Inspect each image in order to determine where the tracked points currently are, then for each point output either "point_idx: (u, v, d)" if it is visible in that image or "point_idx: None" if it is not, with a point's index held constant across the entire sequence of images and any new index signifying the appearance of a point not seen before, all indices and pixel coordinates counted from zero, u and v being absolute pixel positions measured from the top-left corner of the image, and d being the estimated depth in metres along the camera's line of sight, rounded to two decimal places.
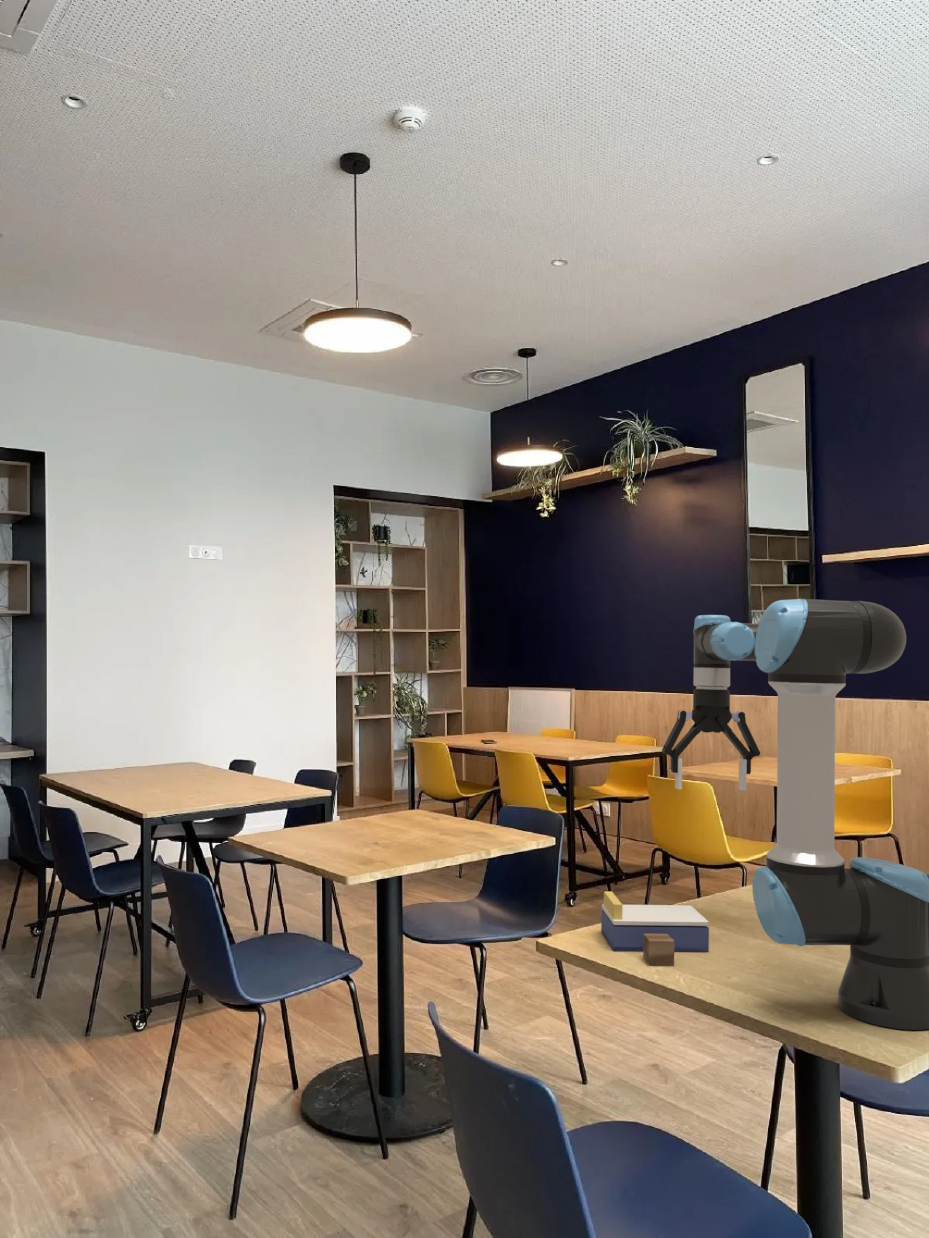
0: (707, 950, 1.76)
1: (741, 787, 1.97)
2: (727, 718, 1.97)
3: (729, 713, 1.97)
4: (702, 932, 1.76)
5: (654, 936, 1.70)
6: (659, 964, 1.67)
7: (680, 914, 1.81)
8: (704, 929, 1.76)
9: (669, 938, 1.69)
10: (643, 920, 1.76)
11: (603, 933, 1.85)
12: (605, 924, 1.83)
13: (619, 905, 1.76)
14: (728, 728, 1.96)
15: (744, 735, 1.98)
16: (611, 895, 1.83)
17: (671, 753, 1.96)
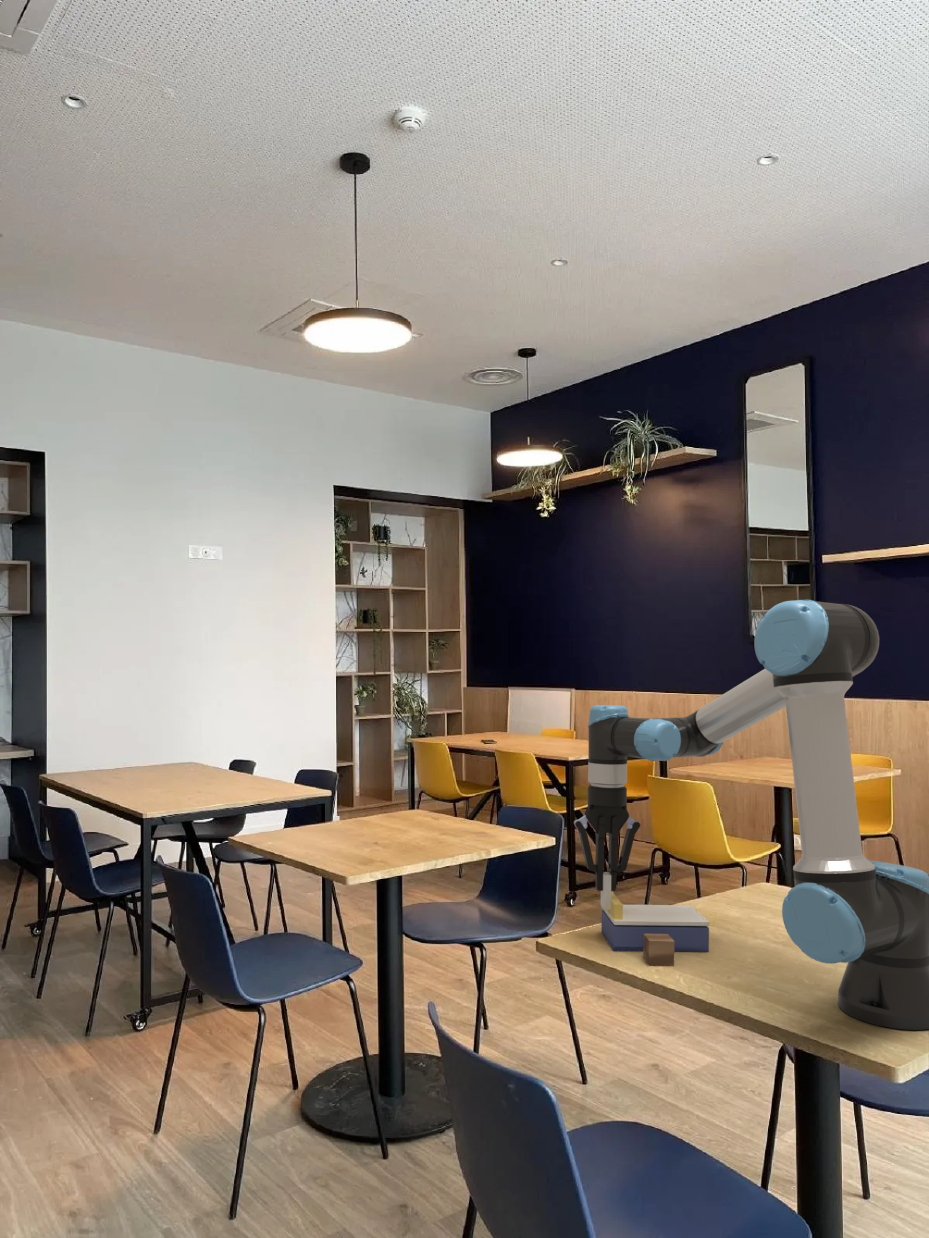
0: (707, 950, 1.76)
1: None
2: (622, 817, 1.81)
3: (627, 815, 1.81)
4: (702, 932, 1.76)
5: (654, 936, 1.70)
6: (659, 964, 1.67)
7: (680, 914, 1.81)
8: (704, 929, 1.76)
9: (669, 938, 1.69)
10: (643, 920, 1.76)
11: (603, 933, 1.85)
12: (605, 924, 1.83)
13: (619, 905, 1.76)
14: (616, 833, 1.80)
15: (624, 844, 1.81)
16: (611, 895, 1.83)
17: (596, 872, 1.80)
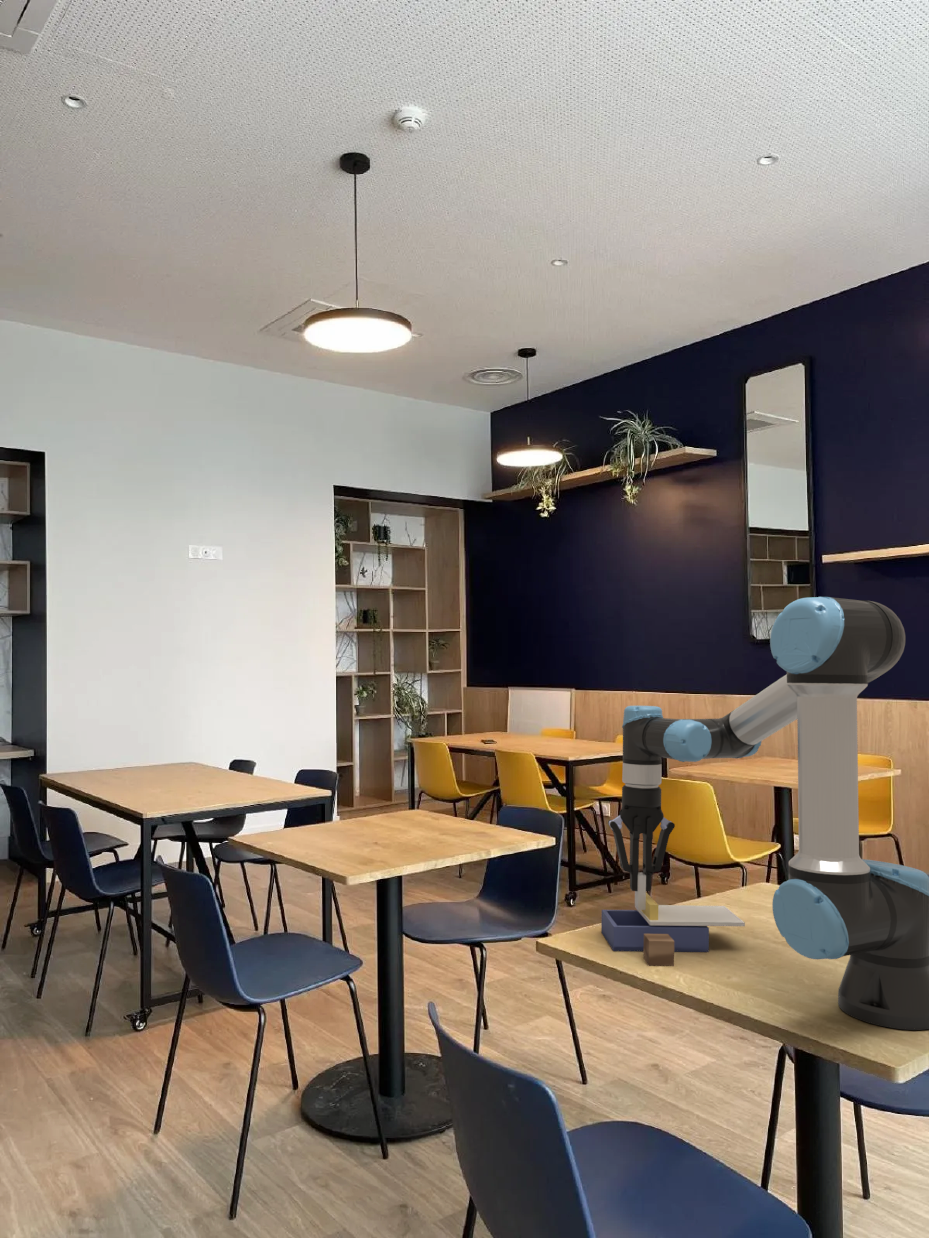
0: (707, 950, 1.76)
1: None
2: (656, 818, 1.81)
3: (662, 815, 1.81)
4: (702, 932, 1.76)
5: (654, 936, 1.70)
6: (659, 964, 1.67)
7: (715, 914, 1.81)
8: (704, 929, 1.76)
9: (669, 938, 1.69)
10: (679, 920, 1.76)
11: (603, 933, 1.85)
12: (605, 924, 1.83)
13: (655, 905, 1.77)
14: (650, 833, 1.80)
15: (659, 844, 1.82)
16: (646, 895, 1.83)
17: (630, 872, 1.81)
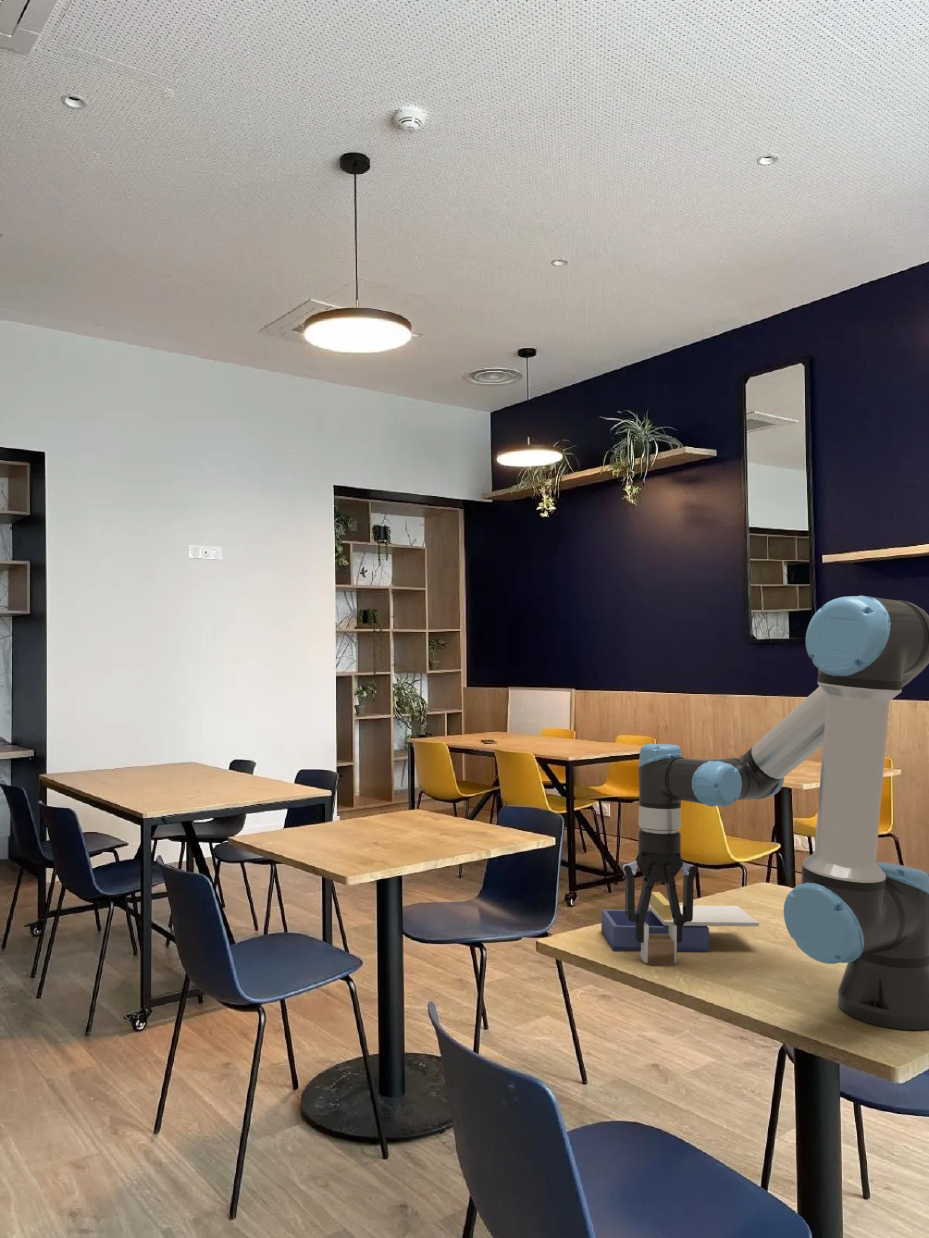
0: (707, 950, 1.76)
1: None
2: (676, 865, 1.69)
3: (681, 861, 1.69)
4: (702, 932, 1.76)
5: (654, 936, 1.70)
6: (659, 964, 1.67)
7: (729, 915, 1.81)
8: (704, 929, 1.76)
9: (669, 938, 1.69)
10: (693, 921, 1.76)
11: (603, 933, 1.85)
12: (605, 924, 1.83)
13: (669, 906, 1.77)
14: (672, 881, 1.68)
15: (685, 892, 1.70)
16: (659, 896, 1.83)
17: (636, 921, 1.68)
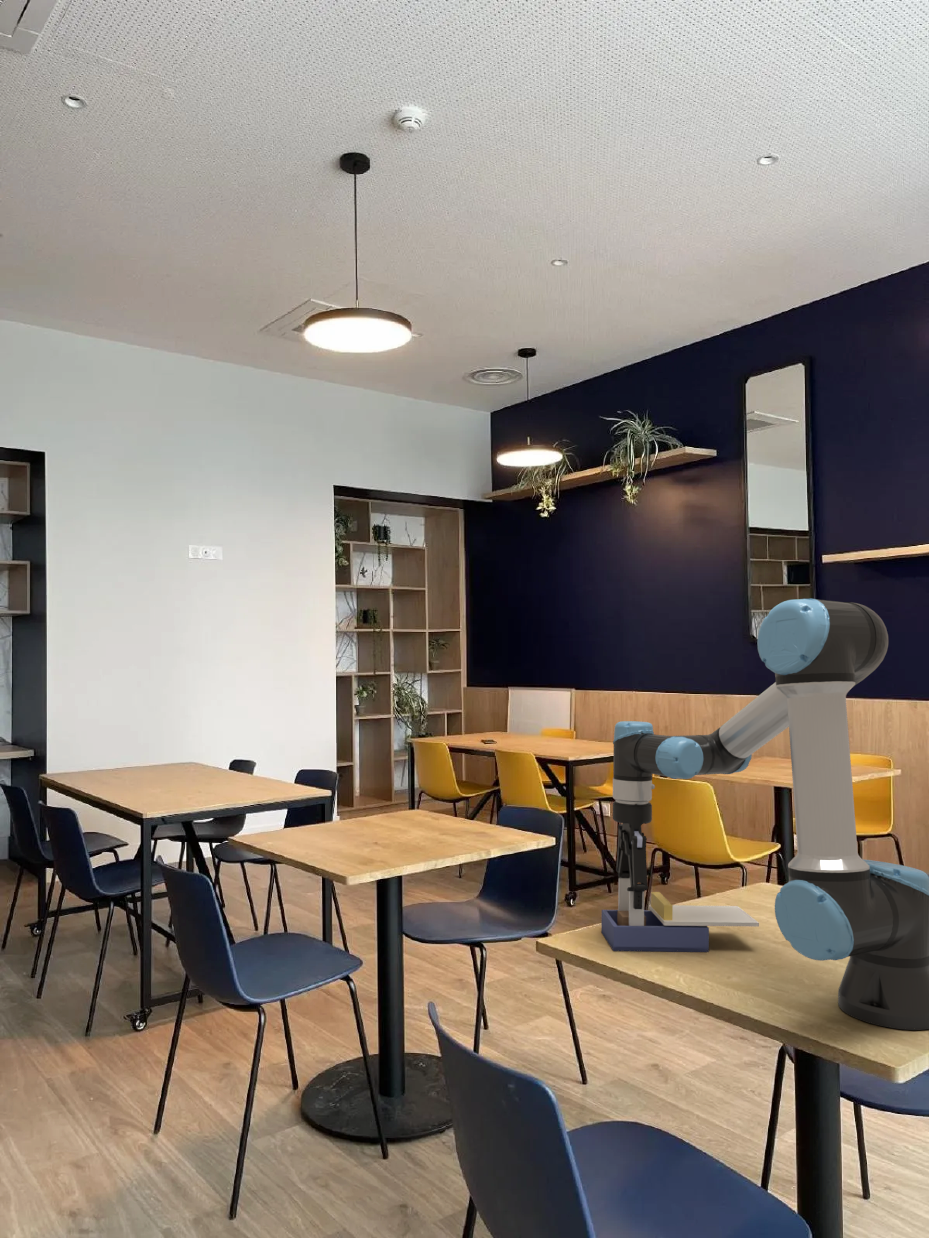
0: (707, 950, 1.76)
1: None
2: (629, 836, 1.79)
3: (630, 832, 1.78)
4: (702, 932, 1.76)
5: None
6: None
7: (729, 915, 1.81)
8: (704, 929, 1.76)
9: None
10: (693, 921, 1.76)
11: (603, 933, 1.85)
12: (605, 924, 1.83)
13: (669, 906, 1.77)
14: (626, 848, 1.79)
15: None
16: (659, 896, 1.83)
17: None
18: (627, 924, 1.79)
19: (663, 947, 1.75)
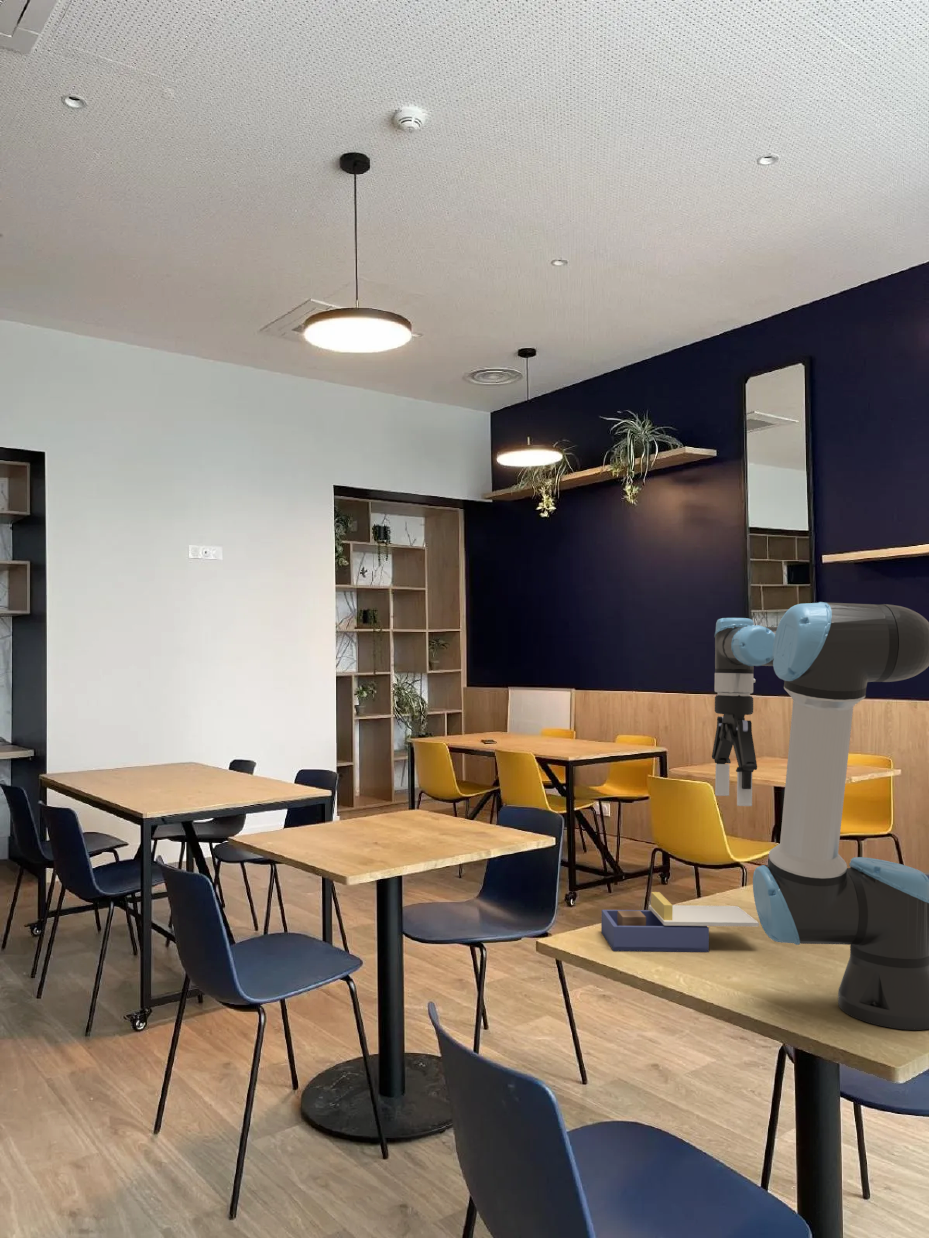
0: (707, 950, 1.76)
1: None
2: (733, 726, 1.86)
3: (734, 721, 1.85)
4: (702, 932, 1.76)
5: (633, 912, 1.82)
6: None
7: (729, 915, 1.81)
8: (704, 929, 1.76)
9: (630, 916, 1.80)
10: (693, 921, 1.76)
11: (603, 933, 1.85)
12: (605, 924, 1.83)
13: (669, 906, 1.77)
14: (730, 736, 1.85)
15: None
16: (659, 896, 1.83)
17: None
18: (627, 924, 1.79)
19: (663, 947, 1.75)
